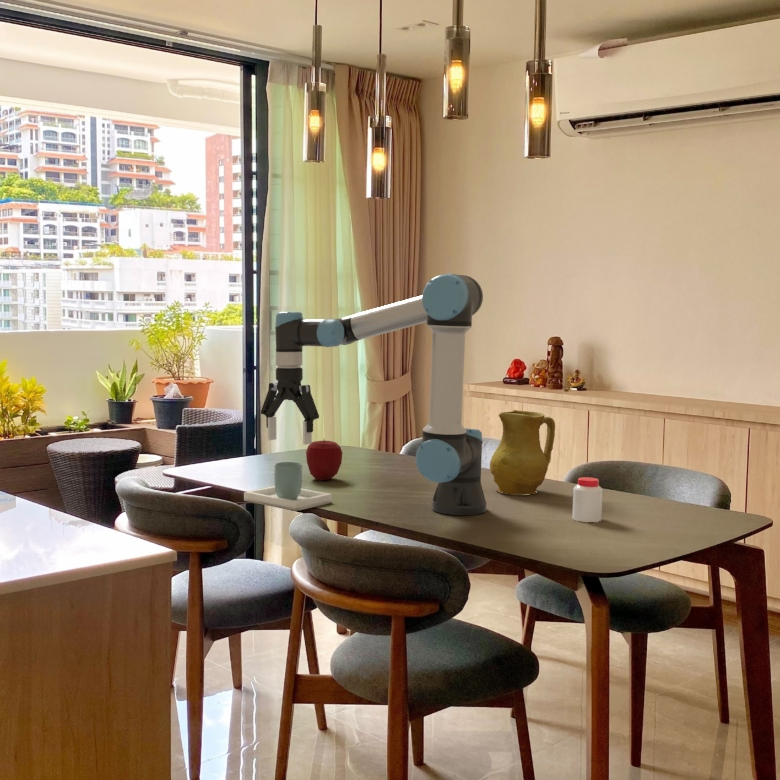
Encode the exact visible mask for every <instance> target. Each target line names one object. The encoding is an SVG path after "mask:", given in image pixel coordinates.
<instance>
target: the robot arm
mask: <svg viewBox="0 0 780 780" xmlns="http://www.w3.org/2000/svg"><path fill="white" fill-rule="evenodd" d="M483 300H484V293H483V289H482V287H481V285H480V283H479V282H478V281H477V280H476V279H475V278H473V277H471V276H468V275H465V274H464V275H463V274H456V273H443V274H439V275H437V276H434V277H433V278H431V280H429V281H428V282H427V283H426V285H425V287H424V289H423V290H422V294H421V295H419V296H415V297H410V298H407V299H404V300H401V301H397V302H394V303H391V304H390V303H389V304H387V305H383V306H380V307H376V308H372V309H369V310H368V309H367V310H365V311H362V312H358V313H355V314H352V315H351V314H350V315H347V316H343V317H340V318H324V319H323V318H312V319H311V318H310V319H307V318H304V317H303V316H304V315H303V313H302V312H301V311H279V312H277V313H276V314H275V324H274V325H275V326H274V329H275V365H276V366H277V367H276V369H275V380H276V381H277V382H269V384H268V391H267V393H266V396H265V397H264V401H263V403H262V406H261V410H260V414H261V415H264V416H265V418H266V419H265V420H266V424H265V425H266V426H265V427H266V428H267V441H275V440H277V416H276V413H277V411H278V410H279V408H280V407H281V405H282V404H283V402H284V401H286V400H288V401H292V402H293V403H295V405H296V407H297V408H298V410H299V411H300V413H301V415H302V417H303V419H304V420H303V421H302V445H305V446H306V445H310V444H312V442H313V441H312V440H313V439H312V437H313V436H312V435H313V432H314V421H315V420H316V419H317V420H318V419H320V414H319V412H318V409H317V406H316V403H315V401H314V398H313V396H312V392H311V385H310V384H305V385H304V384H303V385H302V381H303V378H304V377H303V374H304V373H303V372H304V371H303V370H304V369H303V368H302V367H301V366H303V347H325V348H333V347H339V346H341V345H342V346H347V345H351V344H353V343H355V342H359V341H361V340H366V339H369V338H372V337H376V336H380V335H383V334H386V333H387V334H389V333H391V332H395V331H399V330H402V329H403V330H404V329H405V328H410V327H414V326H417V325H421V324H425V323H426V327H428V329H429V330H430V331H431V332H432V335H431V336H432V337H431V339H432V340H431V363H430V381H429V382H430V384H429V385H430V386H429V407H428V410H429V411H428V423H427V424H426V425H425V426H424V427H423V428H422V438H421V444H420V445H419V446H418V448H417V450H416V452H415V464H416V468H417V470H418V471H419V473H420V475H422V476H423V477H424V479H427V481H430V482H433V483H437V485H436V488H435V491H434V494H433V496H432V497H433V498H432V501H431V509H432V511H434V512H436V513H439V514H443V515H452V516H475V515H480V514H484V513H486V512H487V501H486V497H485V494H484V490H483V487H482V483H481V482H482V481H481V480H482V477H481V476H482V453H483V451H482V450H483V449H482V448H483V444H484V443H483V433H482V432H481V430H480V429H477V428H466V427H464V426H463V424H462V419H463V418H462V417H463V416H462V413H463V392H464V373H465V372H464V371H465V368H464V367H465V350H466V349H465V348H466V347H465V346H466V333H467V332H468V331H469V330H471V328H472V325H473V316H474V315H475V314H477V312H479V310H480V309H481V307H482V305H483Z"/></svg>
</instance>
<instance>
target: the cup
mask: <svg viewBox="0 0 780 780" xmlns="http://www.w3.org/2000/svg"><path fill="white" fill-rule="evenodd" d="M273 471H274V474H273V475H274V479H273V480H274V486H275V492H276V495H277V497H280V498H285V499H290V500H294V499H296V498H298V497H299V495H300V493H301V489H303V488H302V487H303V486H302V485H303V464H302V463H301V462H297V461H296V462H295V461H294V462H293V461H282V462H281V461H280V462H276V463H275V464H274V470H273Z"/></svg>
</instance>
